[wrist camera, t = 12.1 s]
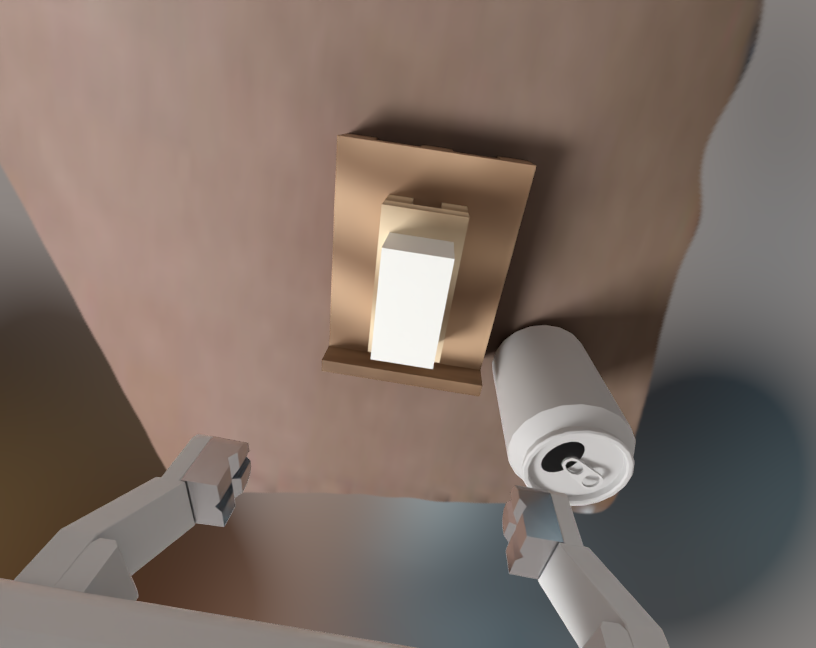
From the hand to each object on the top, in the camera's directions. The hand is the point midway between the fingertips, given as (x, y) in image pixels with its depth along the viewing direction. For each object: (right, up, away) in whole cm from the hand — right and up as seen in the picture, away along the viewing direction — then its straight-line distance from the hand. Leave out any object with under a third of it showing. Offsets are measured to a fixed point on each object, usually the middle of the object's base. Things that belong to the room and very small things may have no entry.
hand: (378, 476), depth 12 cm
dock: (+2, +9, +18) cm, 20 cm away
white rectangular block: (+1, +7, +12) cm, 14 cm away
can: (+12, +2, +21) cm, 24 cm away
